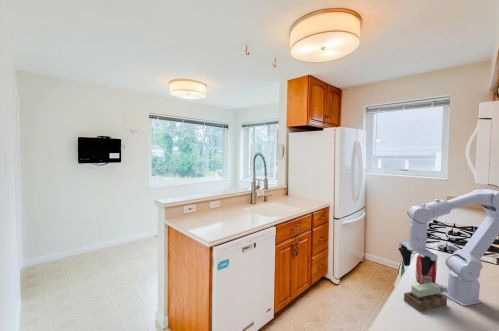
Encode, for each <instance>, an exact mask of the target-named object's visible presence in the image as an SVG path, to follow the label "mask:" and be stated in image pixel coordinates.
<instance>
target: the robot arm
mask: <svg viewBox="0 0 499 331" xmlns="http://www.w3.org/2000/svg"><path fill="white" fill-rule="evenodd" d="M471 205H472V206H473V205H480V207H482V208H483V210H484V212H485V213H486V214H485V215H486V217H485V218H484V219H483V221H482V222H481V223H480V225H479V226H478V227H477V229H476V230H475V232H474V233H473V234H472V236H471V237H470V238H469V240H468V241H467V242H466V243H465V245H464V247H463V248H461V249H457V250H454V251H453V253H452V254H449V255H448V256H446V258H445V265H446V267H447V268H448V280H447V291H442V292H441V295H443V296H445V297H447V299H450V300H452V301H454V302H456V304H457V303H458V304H459V305H461V306H463V307H466V306H472V305H477V304H481V303H482V300H480V290H481V287H480V281H479V280H478V279H479V278H480V275H481V271H482V269H483V267H484V266H483V263H482V260H481V258H483V256H484V254H486V252H487V251H488V249H490V247H491V246H492V244H493V243H494V242H495V240H496V239H497V238H498V237H499V190H495V189H491V188H488V187H481V188H479V189H474V190H472V191H470V192H468V193H465V194H462V195H460V196H456V197H453V198H452V199H451V198H450V199H448V200H444V199H443V198H442V199H438V198H435V199H433V201H431V202H427V203H420V205H412V206H410V208H409V209H408V211H406V214H407V216H408V217H409V227H408V229H409V230H408V241H405V240H399V241H398V246H399V247H398V250H399V252H400V254H401V258H402V262H403V266H405V267H408V266H411V258H412V253H413V252H415V253H417V254H418V255H419V254H421V255H423V256H425V257H421V258H420V260H421V264H422V275H423V276H426V275H428V273H429V271H430V269H431V267H432V265H433V264H434V263H435V262H436V261H438V254H435V253H434V252H433V251H430V250H429V249H427V241H428V240H427V239H428V223H429V222H431V221H432V220H433V219H435V218H439V217H442V216H445V215H448V214H450V213H451V212H452V210H454V209H459V208H463V207H467V206H471Z"/></svg>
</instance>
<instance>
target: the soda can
mask: <svg viewBox="0 0 499 331" xmlns="http://www.w3.org/2000/svg"><path fill="white" fill-rule="evenodd" d="M421 257H425V256H423V255H421V254H419V253H418V254H417V255H416V262H415V279H416V281H417V282H419V283H420V284H426V283H434V284H436V280H437V270H438V269H437V267H438V263H437V261H438V260H437V261H436V262H435V263H434V264H433V265H432V267H431V269H430V271H429V273H428V275H426V276H423V275H422V264H421V260H420V258H421Z"/></svg>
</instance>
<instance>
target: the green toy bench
mask: <svg viewBox="0 0 499 331" xmlns="http://www.w3.org/2000/svg"><path fill="white" fill-rule="evenodd" d="M410 292H412V297H413V298H415V299H416V300H418V301H421V297H423V296H428V295H434V296H435V297H437V298H438V297H439V293H440V294H441V286H440V285H438V284H436V283H435V284H434V283H426V284H422V283H420V284H415V285H411V291H410Z"/></svg>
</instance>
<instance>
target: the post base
mask: <svg viewBox="0 0 499 331" xmlns="http://www.w3.org/2000/svg"><path fill="white" fill-rule="evenodd" d="M403 294H404V295H403V301H404V302H405V303H407V305H410V306H411V307H412V308H414V309H415V310H417V311H418V312H422V311H427V310H432V309H436V308H442V307H446V306H447V305H448V297H447V296H445V295H443V294H442V293H441V292H440V293H439V297H438V298H437V297H435V296H434V295H428V296H423V297H421V301H418V300H416V299H415V298H413V297H412V292H411V291H408V292H404V293H403Z"/></svg>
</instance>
